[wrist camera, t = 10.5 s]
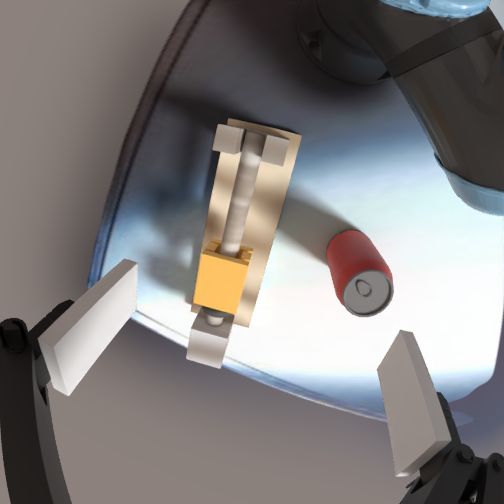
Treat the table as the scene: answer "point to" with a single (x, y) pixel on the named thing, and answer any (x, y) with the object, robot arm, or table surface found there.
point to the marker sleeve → (221, 277)
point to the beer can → (359, 274)
